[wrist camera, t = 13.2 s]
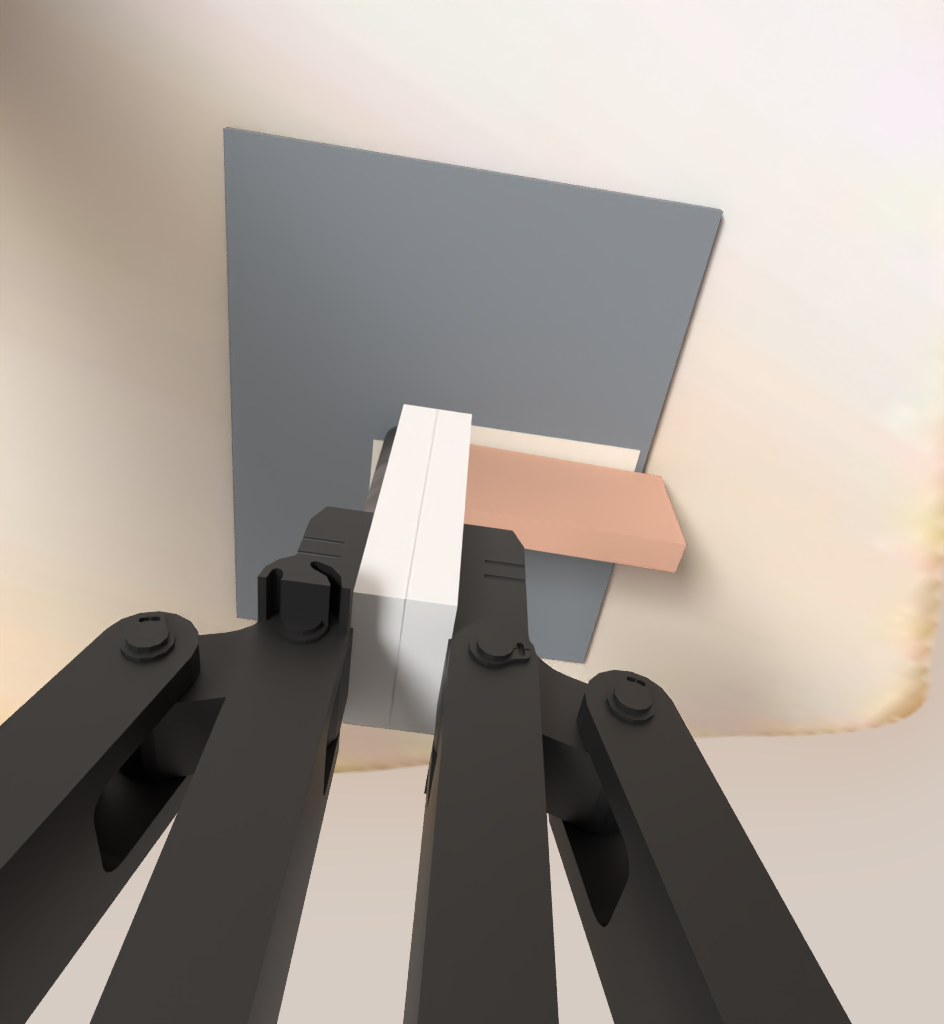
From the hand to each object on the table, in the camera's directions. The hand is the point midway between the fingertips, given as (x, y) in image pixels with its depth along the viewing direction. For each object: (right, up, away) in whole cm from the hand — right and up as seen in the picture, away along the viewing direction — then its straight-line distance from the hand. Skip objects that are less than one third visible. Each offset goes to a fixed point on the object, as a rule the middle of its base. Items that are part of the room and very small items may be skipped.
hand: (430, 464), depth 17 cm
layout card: (-1, +3, +27) cm, 27 cm away
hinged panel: (+5, +1, +27) cm, 27 cm away
